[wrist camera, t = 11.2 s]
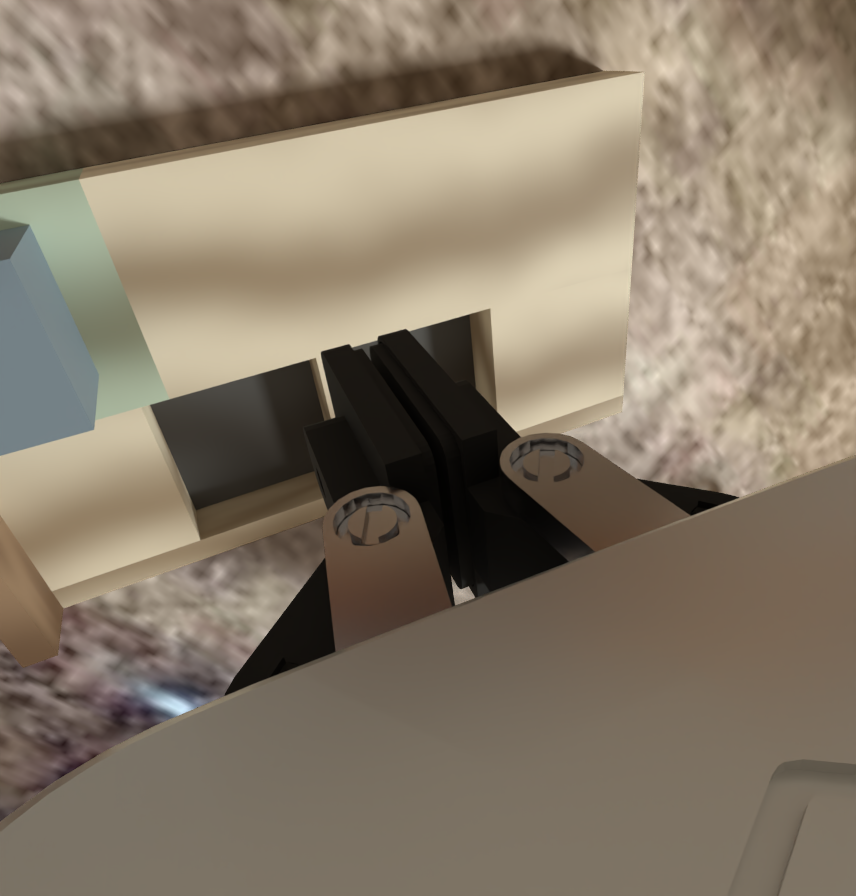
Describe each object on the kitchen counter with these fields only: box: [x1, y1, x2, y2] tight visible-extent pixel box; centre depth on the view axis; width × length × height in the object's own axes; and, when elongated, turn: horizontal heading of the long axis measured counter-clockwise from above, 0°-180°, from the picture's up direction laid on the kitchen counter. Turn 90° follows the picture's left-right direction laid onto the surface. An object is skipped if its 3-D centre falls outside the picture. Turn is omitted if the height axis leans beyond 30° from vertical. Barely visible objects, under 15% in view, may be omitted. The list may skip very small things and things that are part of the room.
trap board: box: [0, 71, 645, 668], centre depth 24 cm, size 15×28×5 cm, turn 97°
